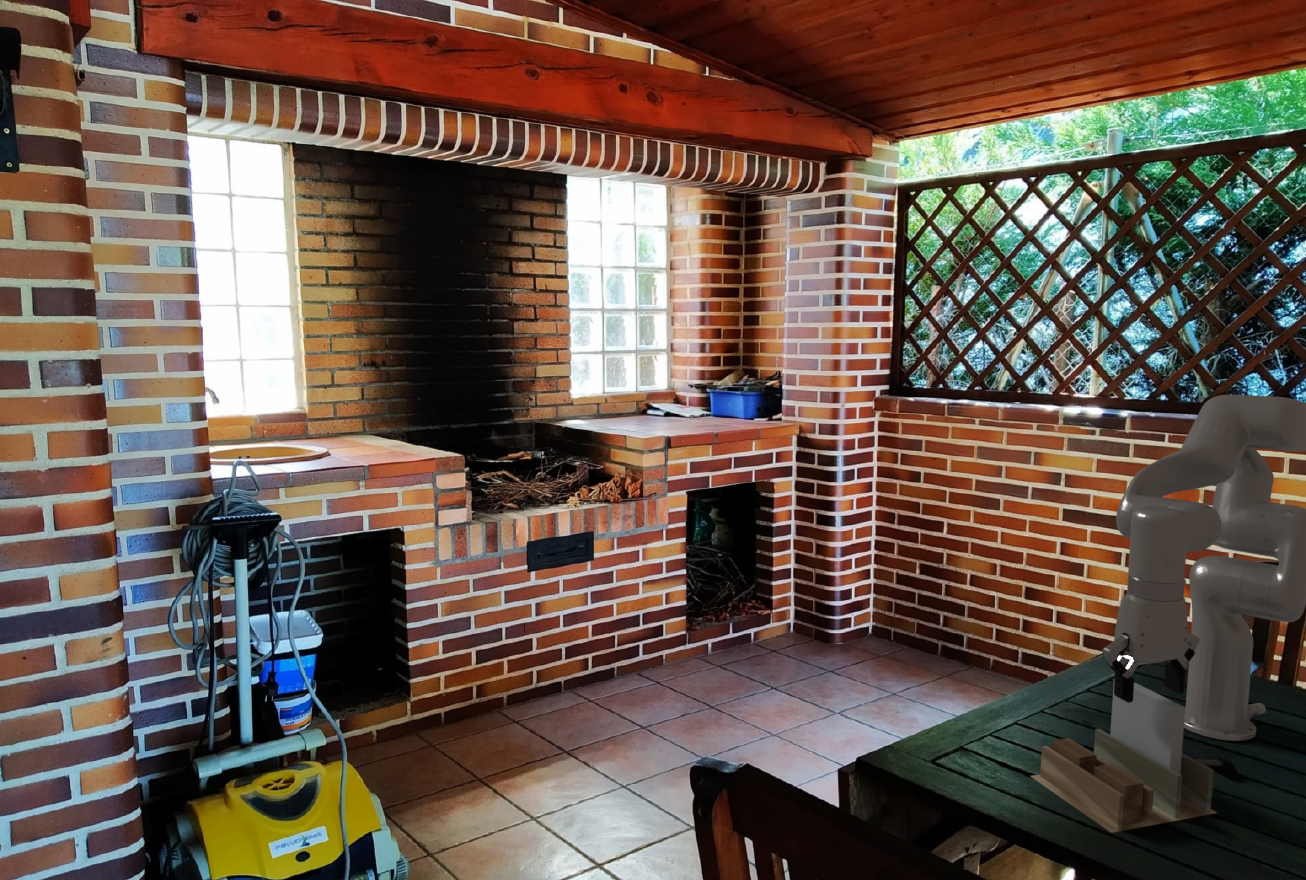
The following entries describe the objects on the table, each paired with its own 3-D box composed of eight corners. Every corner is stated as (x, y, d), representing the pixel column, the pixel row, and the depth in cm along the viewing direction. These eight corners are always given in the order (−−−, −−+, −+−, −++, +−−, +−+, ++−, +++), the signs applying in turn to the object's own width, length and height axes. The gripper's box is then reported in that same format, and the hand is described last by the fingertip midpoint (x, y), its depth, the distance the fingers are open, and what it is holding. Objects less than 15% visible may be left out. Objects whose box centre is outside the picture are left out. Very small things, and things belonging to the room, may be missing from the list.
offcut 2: (1109, 801, 136) (1111, 764, 135) (1140, 822, 130) (1143, 783, 130) (1091, 804, 135) (1094, 766, 135) (1122, 825, 130) (1125, 786, 129)
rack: (1126, 768, 150) (1129, 722, 149) (1216, 822, 133) (1220, 771, 132) (1029, 784, 144) (1032, 737, 143) (1111, 842, 128) (1114, 789, 127)
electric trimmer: (1131, 769, 150) (1132, 751, 150) (1227, 770, 150) (1228, 752, 149) (1142, 781, 147) (1143, 762, 146) (1241, 782, 146) (1242, 763, 145)
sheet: (1118, 765, 147) (1124, 677, 146) (1177, 802, 136) (1185, 707, 134) (1108, 767, 147) (1114, 678, 145) (1167, 804, 135) (1174, 708, 134)
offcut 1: (1066, 773, 145) (1068, 738, 144) (1094, 792, 139) (1096, 755, 138) (1049, 776, 144) (1051, 740, 143) (1077, 795, 138) (1079, 757, 137)
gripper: (1179, 575, 144) (1173, 678, 146) (1090, 587, 139) (1084, 692, 141) (1221, 589, 137) (1213, 697, 139) (1128, 601, 132) (1122, 712, 134)
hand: (1148, 694), depth 140 cm, fingers open, 9 cm apart
